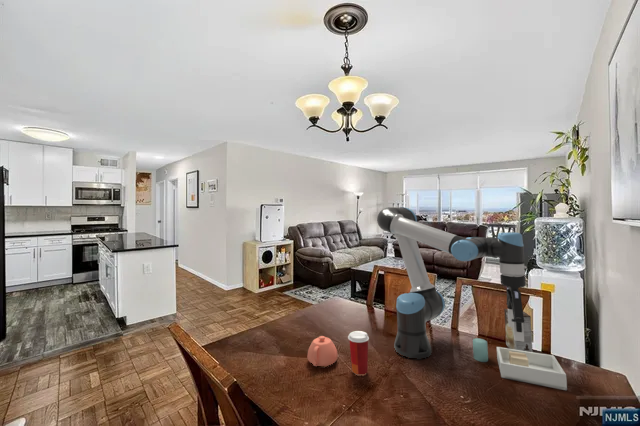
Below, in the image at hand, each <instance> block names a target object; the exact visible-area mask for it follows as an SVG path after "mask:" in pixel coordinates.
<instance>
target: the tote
mask: <svg viewBox="0 0 640 426" xmlns="http://www.w3.org/2000/svg"><path fill="white" fill-rule="evenodd" d="M509 351H511V352H518V353H524V354H526V356H527V358H528V363H529V367H526V366H521V365H515V364H510V360H509ZM496 360H497V364H498V368H499V372H500V377H501V378H503V379H507V380H511V381H518V382H522V383H527V384H532V385H537V386H543V387H548V388H553V389H557V390H563V391H567V390H568V381H567V373H566V372H565V370H564V369H563V368H562V366H561V365H560V363H559V361H558V360H557V358H556V357H555V355H553V354H547V353H541V352H534V351H532V352H527V351H521V350H514V349H510V348H509V347H501V346H496Z"/></svg>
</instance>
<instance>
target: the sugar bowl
mask: <svg viewBox="0 0 640 426" xmlns="http://www.w3.org/2000/svg"><path fill="white" fill-rule="evenodd" d="M306 355H307V360H308V362H309V363H310V364H311V363H312V364H313V365H312V364H311V365H312V366H314V367H317V366H328V365H330V366H332V365H334V364H335V362H337V360H338V357H339V355H338V349H337V348H336V346H335V344H334V342H333V340H331V338H329V337H326V336H324V335H320V336H318V337H317V338H316V337H315V338H314V339H313V340H312V341H311V344H310V346H309V347H308V349H307V354H306ZM333 363H334V364H333ZM331 364H332V365H331ZM328 367H329V366H328Z"/></svg>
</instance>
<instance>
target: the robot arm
mask: <svg viewBox="0 0 640 426" xmlns="http://www.w3.org/2000/svg"><path fill="white" fill-rule="evenodd" d="M417 218H418V217H417V215H416V213H415V211H413V210H412V209H411V208H408V207H404V206H400V207H393V206H389V207H384V208H382V209H381V210H379V212H378V214H377V217H376V223H377V224H378V226H379V228H380V229H381V230H383V231H385V232H387V233H390V234H392V237H393V238H395V239H396V240H397V243H398V245H399V250H400V253H401V257H402V259H403V262H404V266H405V269H406V273H407V276H408V278H409V282H410V285H411V288H410V291H409V292H407V293H402V294H400V295H398V296H397V298H396V304H395V305H396V306H395V307H396V320H397V321H396V323H397V333H396V336H395V340H394V345H393V346H394V347H393V348H395V350H396V352H398V353H399V354H401V355H403V356H406V357H409V358H417V359H416V360H422V359H421V358H425V359H427V358H426V357H428V358H429V356H430V355H431V356H432V354H431V353H432V346H431V343H430V341H429V338H428V335H427V326H426V323H427V322H428V321H430V320H433V319H435V318H437V317H439V316H440V315H441V314H442V313H443V312H444V310H445V309H446V308H445V307H446V301H445V298H444V296H443V295H442V294H441V293H440V292H439V291H438V290H437V289H436V285H434V284H432V283H431V281H430V279H429V275H428V272H427V269H426V265H425V263H424V259H423V257H422V254H421V251H420V248H419V244H418V243H422V244H424V245H426V246H429V247H432V248H434V249H437V250H439V251H442V252H445V253H447V254H450V255H451V256H453V258H455V259H456V261H460V262H470V261H473V260H476V259H479V258H484V257H485V258H498V259H499V263H498V264H499V273H500V284H501V285H502V286H504V287H506V290H505V291H506V305H507V306H506V307H507V308H506V309H508V323H509V327H514V340H515V341H522V342H524V328H523V323H524V316H523V311H524V310H523V309H524V308H523V302H522V301H523V300H522V292H521V290H520V289H519V288H524V287H526V286H527V285H526V283H527V281H526V280H527V279H526V276H525V274H526V270H525V269H528V268H527V265H525V252H524V250H525V249H524V247H525V244H524V241H523V235H522V233H520V232H515V231H513V232H511V231H510V232H509V231H508V232H498V234H497V237H482V236H481V237H479V236H471V237H469V236H468V237H466V238H465V237H463V236H459V235H457V234H453V233H450V232H448V231H444V230H443V229H439V228H435V227H432V226H430V225H427V224H424V223H421V222H419V221H418V219H417ZM395 350H394V351H395ZM396 352H395V353H396ZM399 354H398V355H399ZM403 356H402V357H403ZM431 356H430V357H431ZM409 358H408V359H409Z"/></svg>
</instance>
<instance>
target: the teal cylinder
mask: <svg viewBox="0 0 640 426" xmlns="http://www.w3.org/2000/svg"><path fill="white" fill-rule="evenodd" d="M472 351H473V352H472V354H473V359H474V360H475V361H478V362H481V363H487V362H489V349H488V341H487V340H485V339H483V338H477V337H476V338H473V339H472Z"/></svg>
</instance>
